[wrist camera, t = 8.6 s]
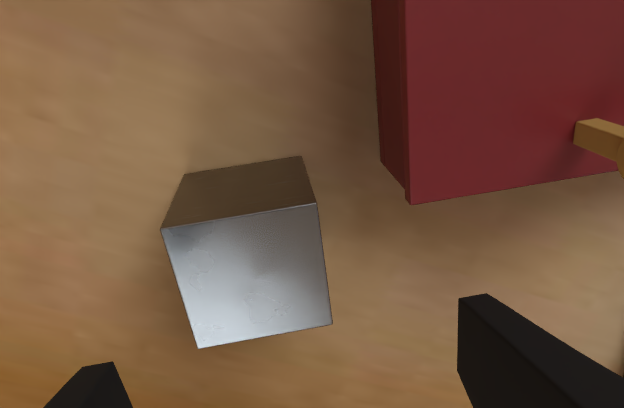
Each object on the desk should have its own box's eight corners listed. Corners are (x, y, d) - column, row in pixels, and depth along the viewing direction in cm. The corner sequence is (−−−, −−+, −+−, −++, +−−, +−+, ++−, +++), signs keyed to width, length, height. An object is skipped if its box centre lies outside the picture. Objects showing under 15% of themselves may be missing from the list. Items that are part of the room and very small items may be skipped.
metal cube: (315, 254, 17) (333, 325, 13) (210, 273, 17) (197, 349, 13) (301, 155, 15) (316, 202, 11) (183, 174, 15) (158, 228, 11)
